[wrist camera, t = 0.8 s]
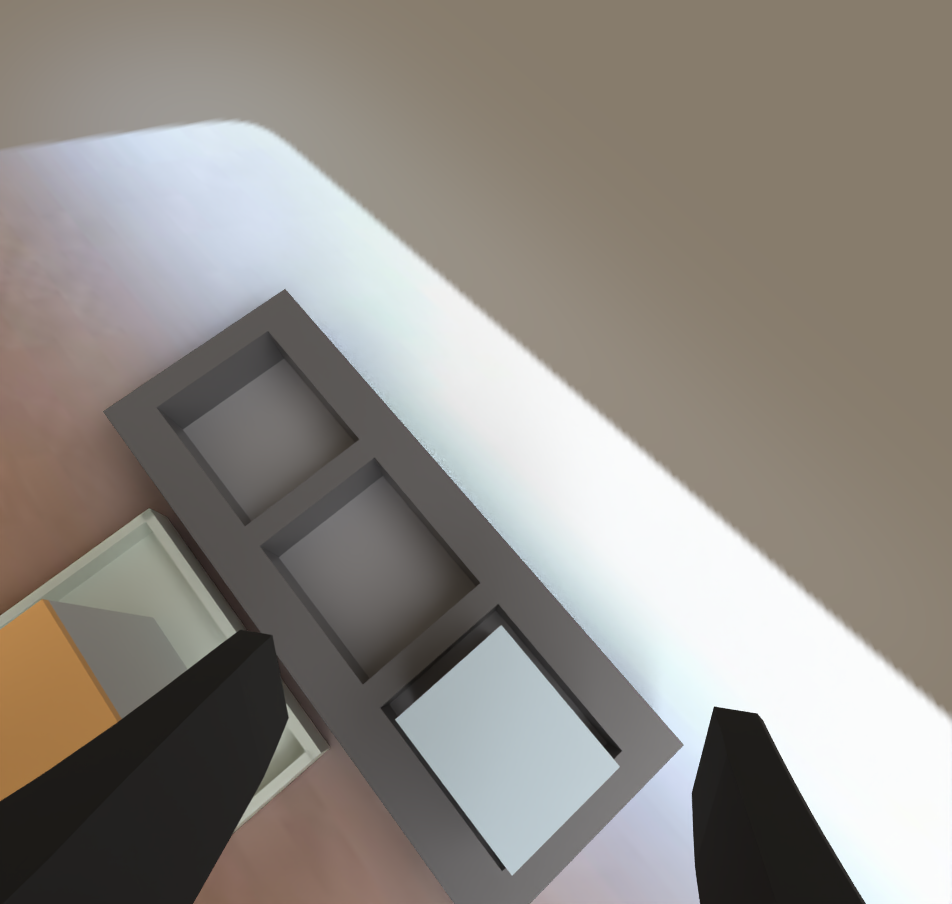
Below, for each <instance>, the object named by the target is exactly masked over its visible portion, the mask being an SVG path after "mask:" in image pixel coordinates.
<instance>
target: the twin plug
mask: <svg viewBox="0 0 952 904" xmlns="http://www.w3.org/2000/svg"><path fill="white" fill-rule="evenodd" d="M395 720H396V721H397V723H398V724H399V725H400V727H401V728H402V729H403V731H404V732H405V734H406V735H407V736H408V738H409V739H410V740H411V742H412V743H413V744H414V746H415V747H416V748H417V750H418V751H419V752H420V754H421V755H422V756H423V758H424V759H425V760H426V762H427V763H428V764H429V766H430V767H431V768H432V770H433V771H434V772H435V774H436V775H437V776H438V778H439V779H440V780H441V782H442V783H443V784H444V786H445V787H446V788H447V790H448V791H449V792H450V794H451V795H452V796H453V798H454V799H455V800H456V802H457V803H458V804H459V806H460V807H461V808H462V810H463V811H464V812H465V814H466V815H467V816H468V818H469V819H470V820H471V822H472V823H473V824H474V826H475V827H476V828H477V830H478V831H479V832H480V834H481V835H482V836H483V838H484V839H485V840H486V842H487V843H488V844H489V846H490V847H491V848H492V850H493V851H494V852H495V854H496V855H497V856H498V858H499V859H500V860H501V862H502V863H503V864H504V866H505V867H506V868H507V870H508V871H509V873H510V874H511V875H513V874H514V873H515V872H516V871H517V870H518V869H519V868H520V867H521V866H522V865H523V864H524V863H525V862H526V861H527V860H528V859H529V858H530V857H531V856H532V855H533V854H534V853H535V852H536V851H537V850H538V849H539V848H540V847H541V846H542V845H543V844H544V843H545V842H546V841H547V840H548V839H549V838H550V837H551V836H552V835H553V834H554V833H555V832H556V831H557V830H558V829H559V828H560V827H561V826H562V825H563V824H564V823H565V822H566V821H567V820H568V819H569V818H570V817H571V816H572V815H573V814H574V813H575V812H576V811H577V810H578V809H579V808H580V807H581V806H582V805H583V804H584V803H585V802H586V801H587V800H588V799H589V798H590V797H591V796H592V795H593V794H594V793H595V792H596V791H597V790H598V789H599V788H600V787H601V786H602V785H603V784H604V783H605V782H606V781H607V780H608V779H609V777H610V776H611V775H612V774H613V773H614V772H615V771H616V770H617V769H618V768H619V767H620V766H619V765H618V764H617V763H616V761H615V760H614V759H613V758H612V757H611V755H610V754H609V753H608V752H607V751H606V749H605V748H604V747H603V746H602V745H601V743H600V742H599V741H598V740H597V739H596V738H595V736H594V735H593V734H592V733H591V732H590V730H589V729H588V728H587V727H586V726H585V724H584V723H583V722H582V721H581V720H580V718H579V717H578V716H577V715H576V714H575V712H574V711H573V710H572V709H571V708H570V706H569V705H568V704H567V703H566V702H565V700H564V699H563V698H562V697H561V696H560V694H559V693H558V692H557V691H556V690H555V688H554V687H553V686H552V685H551V684H550V683H549V681H548V680H547V679H546V678H545V677H544V675H543V674H542V673H541V672H540V671H539V669H538V668H537V667H536V666H535V665H534V663H533V662H532V661H531V660H530V659H529V657H528V656H527V655H526V654H525V653H524V651H523V650H522V649H521V648H520V647H519V645H518V644H517V643H516V642H515V641H514V639H513V638H512V637H511V636H510V635H509V633H508V632H507V631H506V630H505V629H504V627H503V626H502V625H501V626H500V627H498V628H497V629H496V630H495V631H494V632H493V633H492V634H491V635H489V636H488V637H487V638H486V639H485V640H484V641H483V642H482V643H480V644H479V645H478V646H477V647H476V648H475V649H474V650H473V651H472V652H470V653H469V654H468V655H467V656H466V657H465V658H464V659H463V660H461V661H460V662H459V663H458V664H457V665H456V666H455V667H454V668H452V669H451V670H450V671H449V672H448V673H447V674H446V675H445V676H443V677H442V678H441V679H440V680H439V681H438V682H437V683H436V684H434V685H433V686H432V687H431V688H430V689H429V690H428V691H427V692H426V693H424V694H423V695H422V696H421V697H420V698H419V699H418V700H417V701H415V702H414V703H413V704H412V705H411V706H410V707H409V708H408V709H406V710H405V711H404V712H403V713H402V714H401V715H400V716H399V717H397V718H396V719H395Z"/></svg>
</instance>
